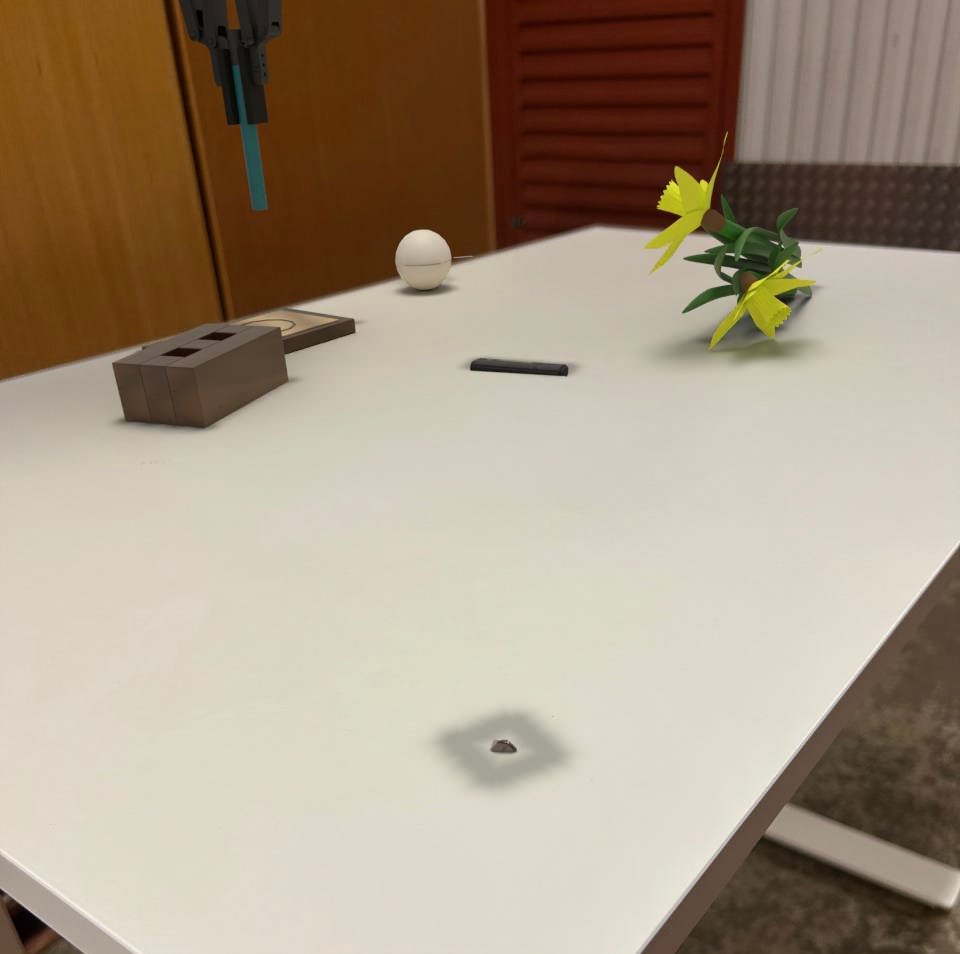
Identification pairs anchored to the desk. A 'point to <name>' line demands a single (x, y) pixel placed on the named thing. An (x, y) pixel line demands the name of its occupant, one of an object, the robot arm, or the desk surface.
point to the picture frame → (299, 327)
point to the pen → (247, 129)
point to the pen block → (201, 374)
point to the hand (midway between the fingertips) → (248, 123)
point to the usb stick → (518, 367)
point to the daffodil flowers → (756, 272)
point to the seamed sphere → (423, 259)
